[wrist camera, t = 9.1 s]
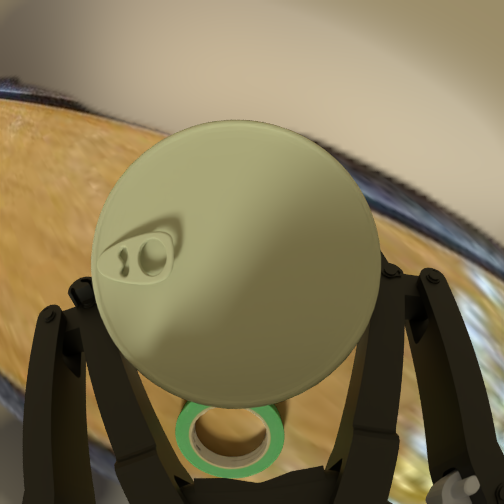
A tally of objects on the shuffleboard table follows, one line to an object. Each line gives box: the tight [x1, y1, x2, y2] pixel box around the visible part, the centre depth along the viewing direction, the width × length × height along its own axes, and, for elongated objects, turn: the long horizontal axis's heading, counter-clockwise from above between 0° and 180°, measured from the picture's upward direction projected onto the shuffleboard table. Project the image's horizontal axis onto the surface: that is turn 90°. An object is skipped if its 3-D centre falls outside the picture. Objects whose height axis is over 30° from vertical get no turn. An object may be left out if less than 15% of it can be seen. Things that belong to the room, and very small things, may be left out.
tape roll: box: [175, 401, 284, 478], centre depth 27 cm, size 11×11×3 cm
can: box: [91, 120, 381, 409], centre depth 14 cm, size 9×9×12 cm
